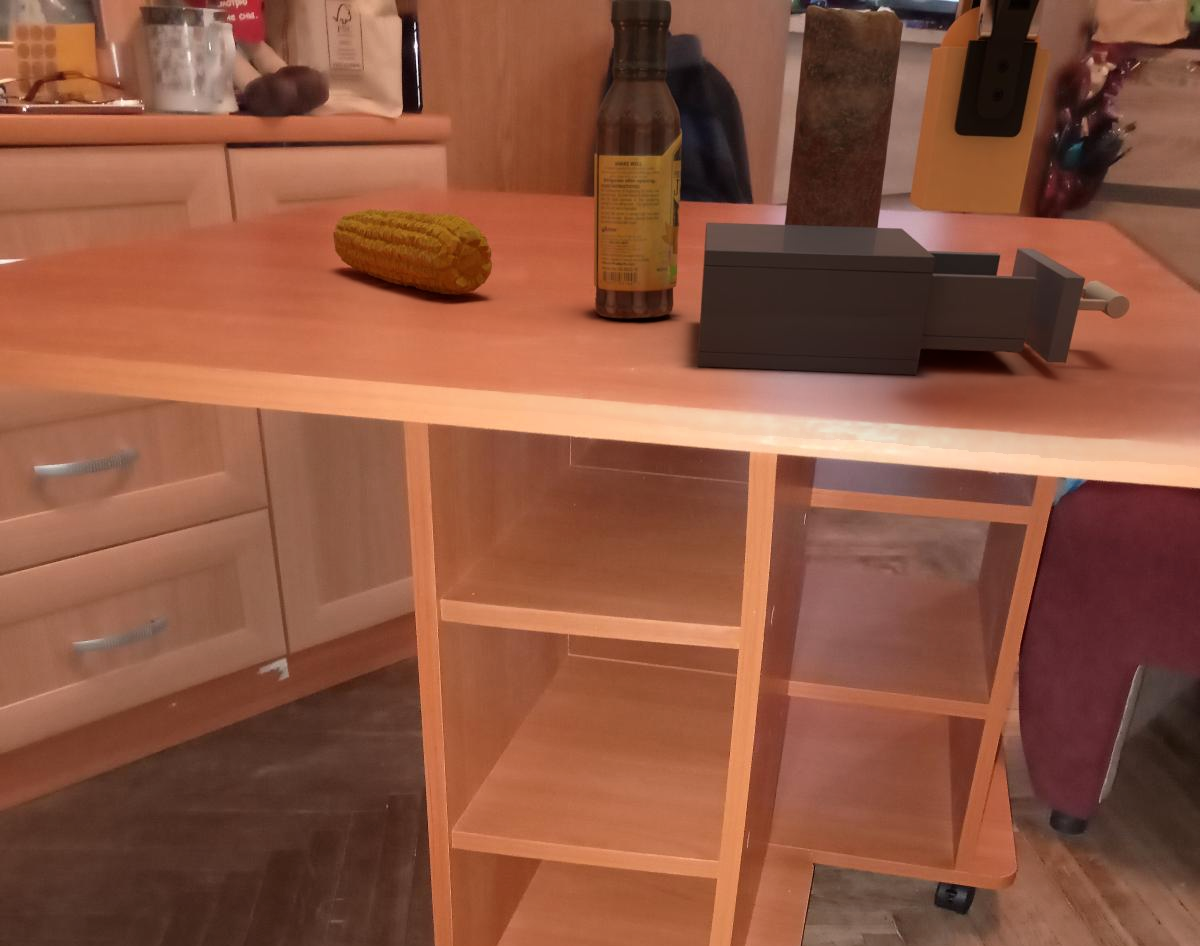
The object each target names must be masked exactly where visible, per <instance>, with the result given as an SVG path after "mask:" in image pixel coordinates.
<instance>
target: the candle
mask: <svg viewBox="0 0 1200 946" xmlns="http://www.w3.org/2000/svg"><path fill="white" fill-rule="evenodd" d="M903 28H904V23H903V21H902V20H901V19H900V18H899V16H898V15H897V14H896V13H895V12H894V11H890V10H887V9H884V10H878V11H876V10H870V11H869V10H867V11H864V12H863V11H858V10H855V9H848V8H841V9H840V8H839V9H835V8H832V7H831V8H830V7H828V8H824V7H822V6H819V5H816V4H811V5H808V6H807V7H806V10H805V16H804V28H803V29H804V30H803V39H802V48H801V49H802V50H801V57H800V59H801V60H800V68H799V69H800V71H799V81H798V89H797V90H798V91H797V92H798V93H797V100H796V108H795V123H794V132H793V133H794V134H793V144H792V153H791V161H790V168H789V180H788V192H787V199H786V208H785V219H784V225H804V226H836V227H868V228H879V219H880V213H881V204H882V197H883V187H884V180H885V179H884V178H885V171H886V164H887V155H888V146H889V139H890V138H889V137H890V131H891V123H892V114H893V106H894V100H895V93H896V82H897V75H898V69H899V60H900V54H901V53H900V51H901V44H902V43H901V42H902V36H903Z"/></svg>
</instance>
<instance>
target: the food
mask: <svg viewBox="0 0 1200 946" xmlns="http://www.w3.org/2000/svg"><path fill="white" fill-rule="evenodd" d="M332 233H333V234H332V235H333V244H334V248H335V249H334V251H335V252H336V254H337V255H338V256H339V258H340V260H341V261H342V262H344V263H345V264H346V265H347V266H349V267H351V268H352V269H355V270H357V271H358V272H361V273H362V274H368V275H369V276H371V277H372V278H374V279H376V278H377V279H380V280H383V281H384V282H387V283H388V284H390V283H391V284H395V285H399V286H403V287H408V286H410V287H413V288H416V289H417V290H420V291H428V292H429V293H435V294H438V293H439V294H441V295H459V296H460V295H461V294H468V293H471V292H474V291H476V290H477V289H479V288H480V287H481V286H482V285H483V284H485V283H486V281H487V280H488V278H489V277H490V276H491V274H492V268H493V262H492V259H491V258H492V249H491V247H490V245H489V243H488V238H487V237H486V236H485V235H484V234H483V233H482V232H481V229H480V228H478V227H477V226H476V225H475V224H474V223H472V222H470V221H469V220H466V219H465V218H462V217H460V216H459V215H457V214H456V213H455V214H450V213H448V214H446V213H439V214H438V213H429V214H428V213H425V212H419V211H416V212H413V211H405V210H396V209H394V210H389V211H388V210H382V209H376V208H374V209H372V208H370V209H365V210H359V211H357V212H351V213H348V214H346V215H343V216H342V218H341V219H338V222H337V223H336V224H335V229H334V230H333V232H332Z"/></svg>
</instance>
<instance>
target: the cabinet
mask: <svg viewBox="0 0 1200 946" xmlns="http://www.w3.org/2000/svg"><path fill="white" fill-rule="evenodd" d="M928 251H929V250H927V249H926V248H925V247H924V246H923V245H921V244H920V243H919V242H918V241H917V240H916V239H915V238H914V237H912V236H911V235H910V234H909V233H908V232H906V231H905V230H904V229H903V228H896V227H895V228H894V227H878V228H868V227H836V226H804V225H785V224H773V223H772V224H771V223H770V224H769V223H768V224H767V223H738V222H737V223H736V222H734V223H733V222H706V223H705V235H704V253H703V267H702V268H703V269H702V283H701V284H702V285H701V299H700V317H699V332H698V333H699V334H698V335H699V336H698V352H697V355H698V356H697V357H698V358H697V367H701V368H704V367H705V368H722V369H723V368H727V369H748V370H749V369H750V370H751V369H755V370H777V371H779V370H780V371H800V372H801V371H802V372H804V371H805V372H827V373H830V372H831V373H854V374H855V373H856V374H878V375H879V374H882V375H903V376H904V375H905V376H908V375H909V376H917V374H918V368H919V363H920V361H919V360H920V356H921V350H922V349H921V344H922V338H923V332H924V326H925V320H926V313H927V307H928V301H929V295H930V289H931V283H932V276H933V270H934V263H935V257H934V256H933V255H932V254H931V253H930V252H928Z"/></svg>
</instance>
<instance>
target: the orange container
mask: <svg viewBox="0 0 1200 946" xmlns="http://www.w3.org/2000/svg"><path fill="white" fill-rule="evenodd" d="M979 11H980V7H976V8H973V9H971V10H969V11H968V12H966V13H964V14H963V15H962V16H960V17H959V18H958V19H957V20H956V21H955V20H954V21H953V22H952V24H951V25H950V26H949V27H948V29H947V31H946V33H945V34H944V36H943V38H942V40H941V43H940V46H938V47H933V48H932V50H931V51H932V52H931V59H930V65H929V71H928V78H927V85H926V91H925V98H924V104H923V110H922V111H923V112H922V118H921V124H920V131H919V137H918V144H917V151H916V156H915V157H916V158H915V164H914V169H913V170H914V171H913V176H912V182H911V183H912V184H911V190H910V195H909V202H910V203H911V204H913V205H914V206H915V207H917V208H918V209H920V210H921V211H930V212H931V211H934V212H961V213H983V214H986V213H989V214H1012V215H1013V214H1015V215H1018V214H1020V208H1021V203H1022V198H1023V193H1024V190H1025V183H1026V179H1027V173H1028V168H1029V163H1030V157H1031V153H1032V147H1033V143H1034V136H1035V133H1036V129H1037V128H1036V127H1037V122H1038V119H1039V113H1040V108H1041V104H1042V98H1043V93H1044V87H1045V83H1046V79H1047V78H1046V77H1047V72H1048V68H1049V62H1050V58H1051V54H1052V53H1051V52H1052V50H1051V48H1050V49H1048V48H1047V49H1046V48H1042V39H1041V36H1040V33H1039V34H1038V37H1037V40H1036V41H1035V42H1038V44H1037V49H1036V55H1035V60H1034V65H1033V70H1032V75H1031V80H1030V86H1029V91H1028V96H1027V101H1026V106H1025V111H1024V117H1023V122H1022V127H1021V131H1020V132H1019V134H1018V135H1017V136H1015V137H987V136H962V135H958V134H957V133H956V132H955V121H956V115H957V109H958V103H959V97H960V91H961V85H962V79H963V73H964V67H965V61H966V55H967V49H968V43H969V40H977V27H978V19H979ZM979 41H986V40H979Z"/></svg>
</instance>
